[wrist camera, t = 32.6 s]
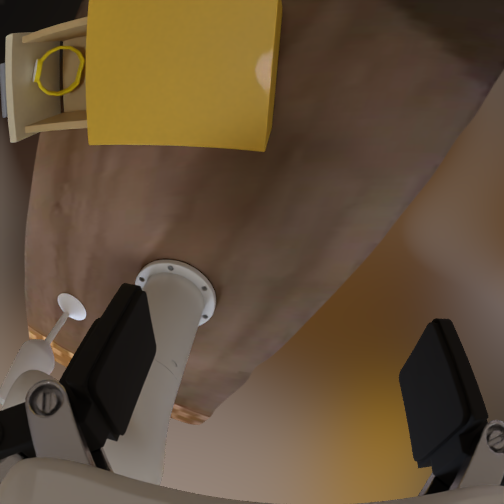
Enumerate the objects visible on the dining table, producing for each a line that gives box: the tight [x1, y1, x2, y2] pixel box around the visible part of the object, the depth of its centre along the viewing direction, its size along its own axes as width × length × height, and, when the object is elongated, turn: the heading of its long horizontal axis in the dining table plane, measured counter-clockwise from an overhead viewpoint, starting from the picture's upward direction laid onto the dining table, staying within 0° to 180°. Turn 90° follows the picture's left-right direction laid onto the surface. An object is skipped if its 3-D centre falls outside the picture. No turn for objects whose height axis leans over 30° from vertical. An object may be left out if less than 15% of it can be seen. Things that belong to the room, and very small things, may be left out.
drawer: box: [0, 17, 88, 143], centre depth 26 cm, size 19×13×9 cm, turn 86°
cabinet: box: [86, 0, 282, 152], centre depth 25 cm, size 16×14×11 cm
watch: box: [33, 46, 85, 96], centre depth 26 cm, size 6×3×6 cm
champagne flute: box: [0, 293, 86, 405], centre depth 43 cm, size 7×7×24 cm
